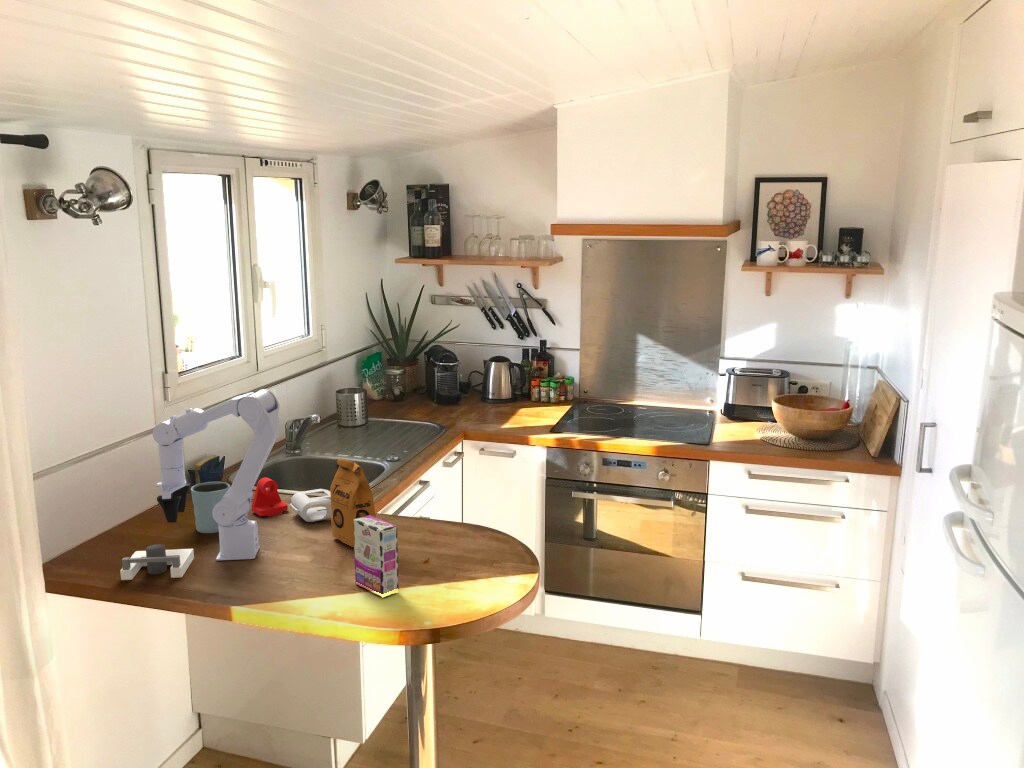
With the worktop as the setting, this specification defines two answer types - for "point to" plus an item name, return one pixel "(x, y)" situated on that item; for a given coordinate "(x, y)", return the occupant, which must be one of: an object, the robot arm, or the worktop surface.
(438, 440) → the worktop surface
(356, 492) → the coffee package
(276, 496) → the bracket
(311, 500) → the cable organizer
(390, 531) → the candy bar box
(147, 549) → the grey rounded cylinder
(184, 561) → the white frame with crossbar
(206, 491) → the pale teal cup
